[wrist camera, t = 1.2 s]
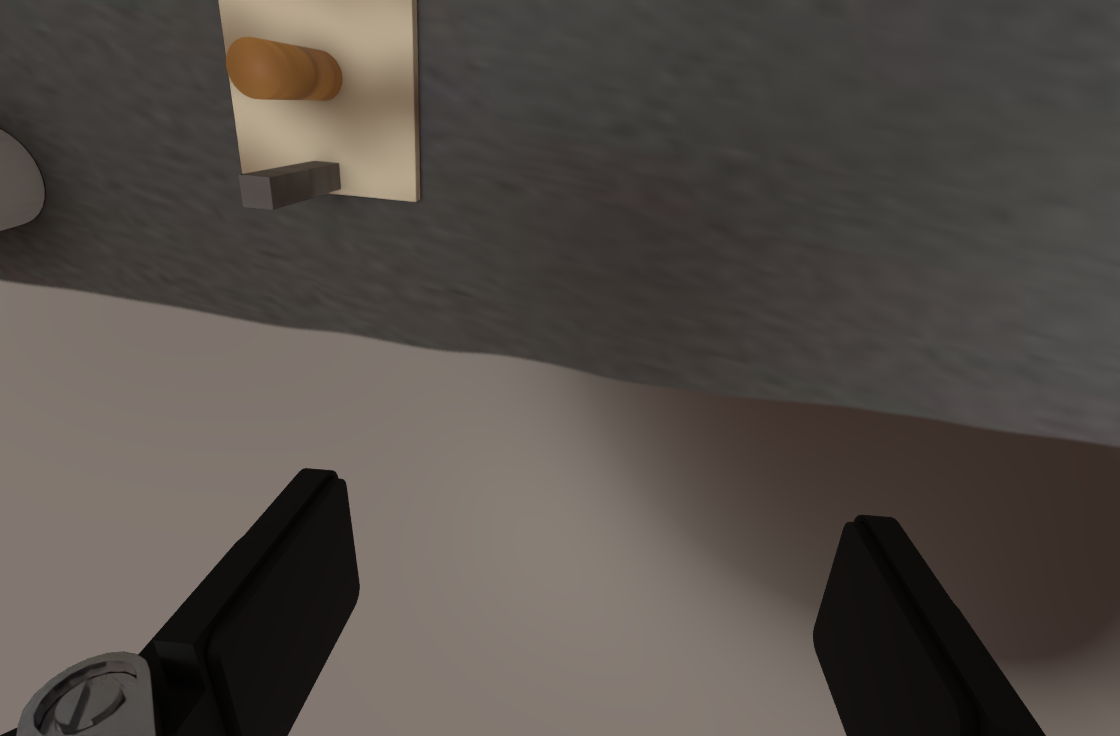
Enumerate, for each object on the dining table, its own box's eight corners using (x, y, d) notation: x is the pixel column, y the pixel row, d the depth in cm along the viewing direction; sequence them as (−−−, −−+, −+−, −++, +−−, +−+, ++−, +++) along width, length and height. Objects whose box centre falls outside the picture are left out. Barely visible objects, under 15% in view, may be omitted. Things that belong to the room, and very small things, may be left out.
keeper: (218, -67, 29) (87, -124, 22) (416, -52, 29) (348, -105, 21) (251, 183, 34) (153, 204, 27) (420, 199, 34) (366, 225, 26)
